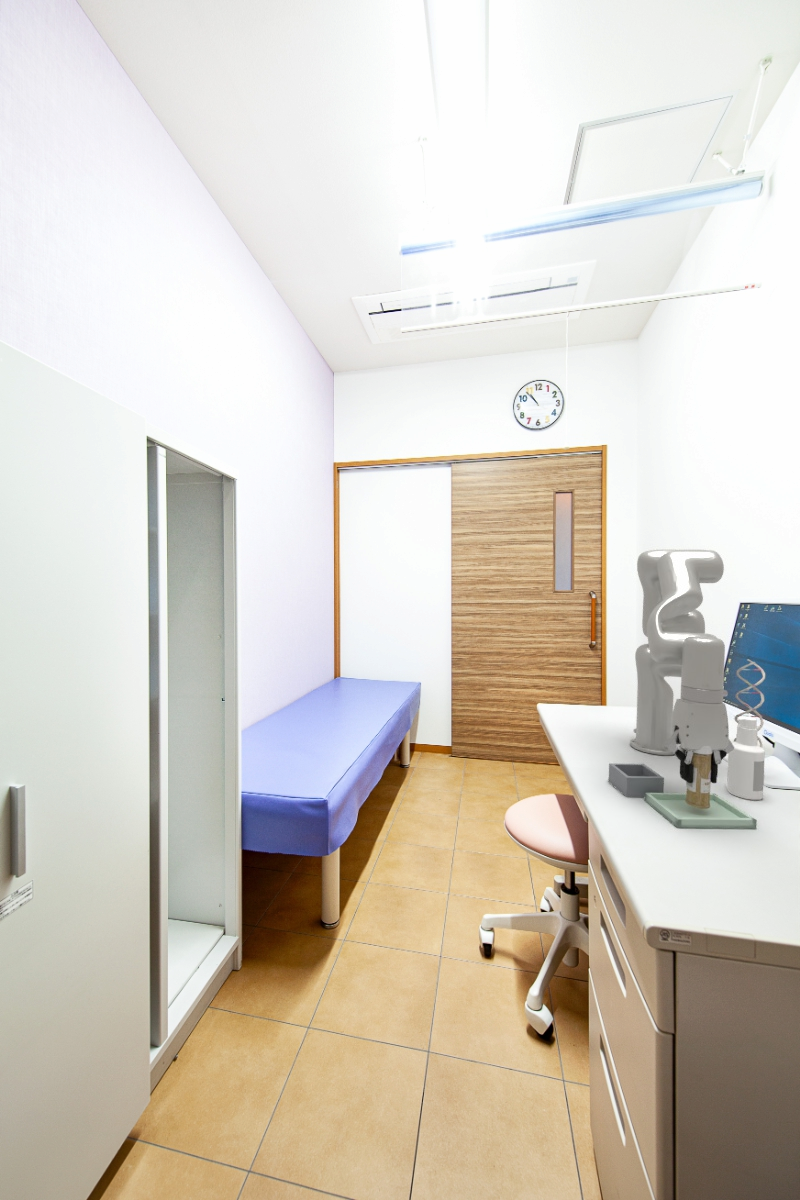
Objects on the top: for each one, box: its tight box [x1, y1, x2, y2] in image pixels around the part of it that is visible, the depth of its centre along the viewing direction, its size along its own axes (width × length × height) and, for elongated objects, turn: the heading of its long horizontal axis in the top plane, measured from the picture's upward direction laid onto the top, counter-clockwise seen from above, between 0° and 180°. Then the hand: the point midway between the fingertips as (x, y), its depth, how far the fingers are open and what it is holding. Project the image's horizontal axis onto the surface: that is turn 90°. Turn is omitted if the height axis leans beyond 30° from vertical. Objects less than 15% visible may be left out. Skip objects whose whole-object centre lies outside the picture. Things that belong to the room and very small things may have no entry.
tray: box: [644, 792, 758, 830], centre depth 99 cm, size 12×16×2 cm
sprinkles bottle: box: [685, 746, 712, 809], centre depth 99 cm, size 5×5×13 cm
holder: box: [608, 762, 665, 798], centre depth 111 cm, size 9×9×4 cm
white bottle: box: [726, 715, 766, 801], centre depth 109 cm, size 7×7×18 cm
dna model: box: [733, 658, 766, 748], centre depth 120 cm, size 7×6×30 cm
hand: (698, 779), depth 99 cm, fingers closed on sprinkles bottle, 4 cm apart
